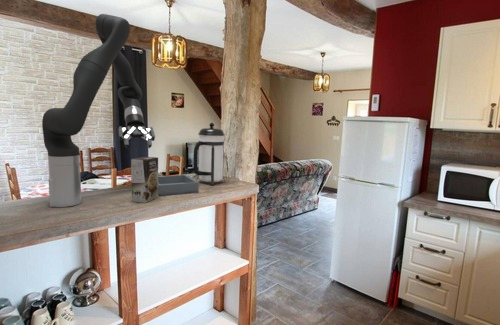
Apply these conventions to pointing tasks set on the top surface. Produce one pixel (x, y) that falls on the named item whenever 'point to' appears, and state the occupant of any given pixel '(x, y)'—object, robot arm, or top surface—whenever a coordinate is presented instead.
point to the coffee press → (209, 155)
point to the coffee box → (144, 179)
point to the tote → (176, 185)
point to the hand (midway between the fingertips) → (139, 147)
